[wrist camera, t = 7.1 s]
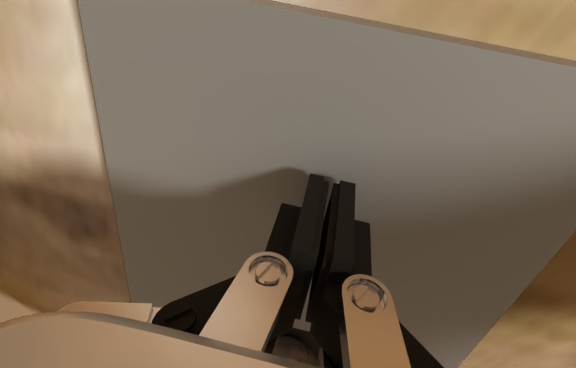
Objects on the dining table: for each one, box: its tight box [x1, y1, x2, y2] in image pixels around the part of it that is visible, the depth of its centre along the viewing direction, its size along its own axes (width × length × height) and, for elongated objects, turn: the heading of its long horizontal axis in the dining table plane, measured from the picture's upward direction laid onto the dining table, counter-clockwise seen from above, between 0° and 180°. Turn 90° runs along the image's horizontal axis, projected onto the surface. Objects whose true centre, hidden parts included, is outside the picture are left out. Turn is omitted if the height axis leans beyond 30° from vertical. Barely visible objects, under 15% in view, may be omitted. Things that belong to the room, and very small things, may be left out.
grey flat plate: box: [77, 0, 576, 368], centre depth 17 cm, size 18×24×2 cm
